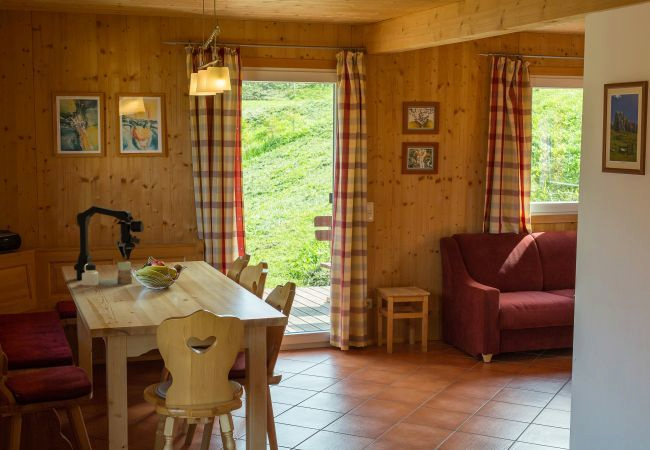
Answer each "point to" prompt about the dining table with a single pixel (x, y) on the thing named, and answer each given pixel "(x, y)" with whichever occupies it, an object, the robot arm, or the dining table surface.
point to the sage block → (124, 265)
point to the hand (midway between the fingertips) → (125, 258)
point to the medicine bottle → (90, 275)
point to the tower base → (124, 280)
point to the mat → (111, 282)
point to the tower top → (124, 273)
